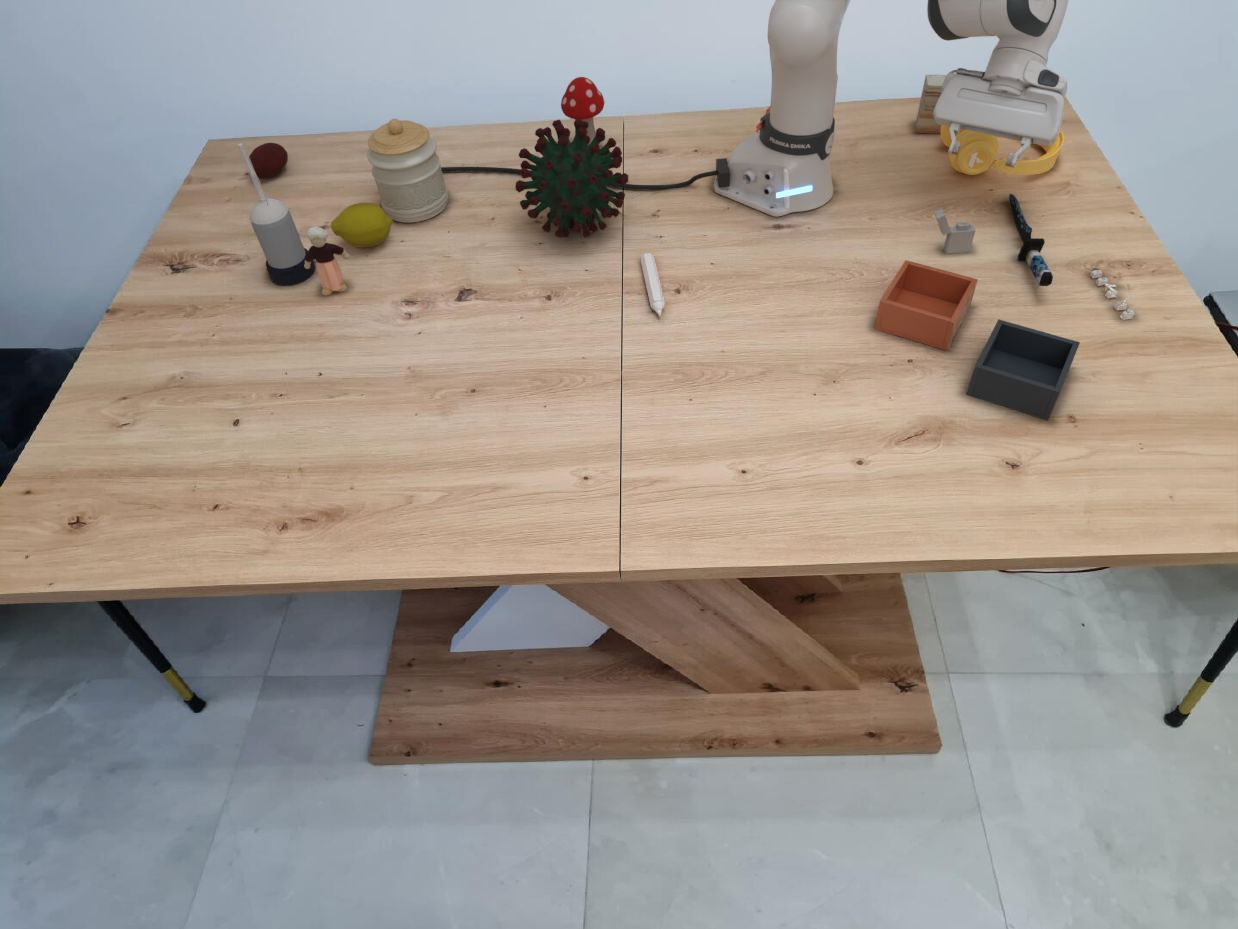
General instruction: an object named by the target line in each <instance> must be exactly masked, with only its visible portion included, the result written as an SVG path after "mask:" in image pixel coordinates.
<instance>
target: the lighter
mask: <svg viewBox="0 0 1238 929" xmlns="http://www.w3.org/2000/svg"><path fill="white" fill-rule="evenodd" d="M934 216H935V217H936V218H935V219H936V221H937V224H938V227H939V230H940V232H941V234H942V236H945V235H946V237H945V239H944V245H943V248H942V249H943V250H944V253H945V254H946V255H951V254H965V253H970V252H971V248H972V245H973V241H974V237H975V235H976V232H977V231H976V228H975V226H974V225H973V224H971V223H969V222H968V221H960V222H956V225H955V226H950V225H949V222H948V219H947V217H946V216H947V215H946V214H945V212H944V209H943V208H942V209H940V210H937V211H934Z"/></svg>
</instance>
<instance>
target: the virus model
mask: <svg viewBox="0 0 1238 929" xmlns="http://www.w3.org/2000/svg"><path fill="white" fill-rule="evenodd" d="M551 124H552V125H551V126H552V128H554V131H555V133H556V136H557V141H556V140H555V138H554V137H553V134H552V133H553V132H552V128H551V127H549V126H545V127H544V128H542V127H539V128H537V129H536V130H535V132H534V135H535V136H536V137H538V139H537V141H536V143H535V145H534V148H533V149H534V150H535V153H539V154H540V155H541V156H542V157H540V156H538V155H535V154H533V153H531V152H530V151H529V150H528V149H527V148H524V147H523V148H521V149H520V150H519V152H518V157H519V159H525V160H522V162H521V163H520V166H519V167H520V169H521V171H520V173H519V174H520V177H521V179H528V178H530V179H531V180H527V181H523V180H520V179H519V180H516V181H515V190H516V192H518V193H519V194H520V193H521V192H523V191H526V190H527V191H526V193H525V194H524V198H525V199H521V200H520V201H519V204H520V207H521V210H528V211H527V212H526V214H527V216H528V217H529V218H530V219H535V220H536V219H538V217H539V215H540V214H541V213H542V212H544V211H545V210H546V209H549V211H548V212H547V213H546V218H547V220H546V222H545V223H544V224H543V225H542V226H541V230H542V231H543V232H545V233H547V234H549V233H550V231H551V230H552V225H553V226H554V227H555V228H557V229H556V231H555V232H554V237H556V238H560V239H561V238H569V237H570V230H569V229H572V231H573V232H574V233H575V234H580V233H581V232H582V237H583V238H584V239H586V238H590V237H591V236H592V233H596V232H597V231H598V229H599V230H601V231H604V230H605V229H607V228H608V225H607V223H606V222H605V221H603V220H602V219H607V218H609V219H611V218H612V217H614V218H617V217H618V216H619V215H620V214H621V212H620V210H619V209H621V208H622V206H623V205H624V200H625V197H626V194H625V192H623V191H618V192H617V191H615V190H613V189H610V188H608V187H607V186H606V185H608V184H610V183H618V184H621V185H623V186H624V185H625V184H628V183H629V174H628V173H626V172H623V173H622V172H618V171H617V172H615V173H613V170H611V169H619V168H620V167H622V164H623V156H622V154H623V153H622V149H621V148H620V147H619V146H617V141H616V140H615V138H613V137H610V138H609V139H608V140H607V141H606V143H605V144H604V145H603V146H602V147H601V146H600V147H599V144H600V145H601V143H602V142H604V141H605V140H606V130H604V128H602V127H598V128H595V132H596V135H595V137H594V139H593V140H592V142H591V143H590V144H589V142H590V137H589V136H588V135H587V132H588V131H587V128H588V122H585V121H582V120H578V119H577V120H575V119H574V121H573V125H574V137H573V139H572V140H571V141H570V136H571V130H570V128H567V127H565V126H564V124H563V122H562V121H561V119H556V120H553V122H552V123H551ZM588 144H589V145H588ZM611 148H613V149H612V150H610V149H611ZM527 160H528V161H527ZM529 161H530V162H531V163H530V162H529ZM532 163H533V164H532ZM529 170H531V171H529ZM532 171H534V172H532ZM531 190H532V191H531ZM609 203H612V204H613V205H614V206H615V207H616V208H615V207H612V206H611V205H610V204H609ZM530 206H533V207H534V208H532V209H528V208H529V207H530ZM598 211H599V213H600V215H601V217H600V215H599V213H598ZM601 218H602V219H601ZM595 220H596V222H597V223H598V225H597V224H596V223H595ZM587 223H588V225H587Z"/></svg>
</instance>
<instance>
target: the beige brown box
mask: <svg viewBox="0 0 1238 929" xmlns="http://www.w3.org/2000/svg"><path fill="white" fill-rule="evenodd" d="M946 75H947V74H925V77H924V81H923V86H922V91H921V95H920V100H919V105H918V109H917V114H916V118H915V131H916V134H934V135H935V134H938V135H939V134H940V135H941V125H940V124H937V123H936V121H935V119H934V116H933V111H934V108H935V106H936V104H937V101H938V99H939V97H940V95H941V93H942V92H943V90H942V85H943V82H944V80H945V77H946Z"/></svg>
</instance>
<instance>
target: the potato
mask: <svg viewBox="0 0 1238 929" xmlns="http://www.w3.org/2000/svg"><path fill="white" fill-rule="evenodd" d="M248 158H250V160H251V162H250V163H252V164H251V165H253V167H252V168H254V171H255V173H256V175H257V176H256V177H258V178H257V179H269V178H271V177H274V176H275V175H277V174H278V173H281V171H283V169H284V168H285V167H286V165H287V163H288V159H289V154H288V151H287V150H286V149H285V148H284V146H283V145H281V144H279V143H276V142H265V143H262V144H260V145H258V146H256V147H255V148H254V149H253V150H252V152H251V153H250V154H249V157H248ZM250 160H249V161H250Z"/></svg>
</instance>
